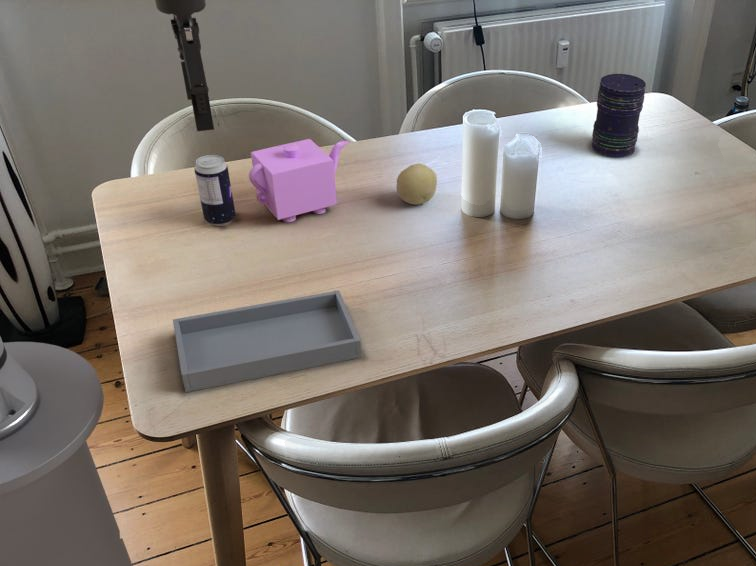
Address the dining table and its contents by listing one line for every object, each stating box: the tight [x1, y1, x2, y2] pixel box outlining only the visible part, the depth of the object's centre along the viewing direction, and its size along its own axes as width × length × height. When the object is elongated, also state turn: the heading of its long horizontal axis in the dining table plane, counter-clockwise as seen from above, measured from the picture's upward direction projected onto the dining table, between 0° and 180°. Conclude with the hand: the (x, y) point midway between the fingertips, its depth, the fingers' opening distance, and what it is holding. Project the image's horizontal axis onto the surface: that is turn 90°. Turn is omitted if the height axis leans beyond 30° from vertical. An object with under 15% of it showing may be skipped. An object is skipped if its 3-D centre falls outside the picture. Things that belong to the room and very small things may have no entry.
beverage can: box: [194, 154, 237, 227], centre depth 151 cm, size 6×6×12 cm
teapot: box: [248, 138, 350, 223], centre depth 156 cm, size 20×10×12 cm, turn 123°
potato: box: [395, 163, 438, 205], centre depth 160 cm, size 8×8×8 cm
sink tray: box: [172, 290, 362, 393], centre depth 126 cm, size 26×14×3 cm, turn 111°
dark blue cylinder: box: [590, 73, 647, 159], centre depth 180 cm, size 10×10×15 cm
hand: (200, 113), depth 143 cm, fingers open, 13 cm apart
